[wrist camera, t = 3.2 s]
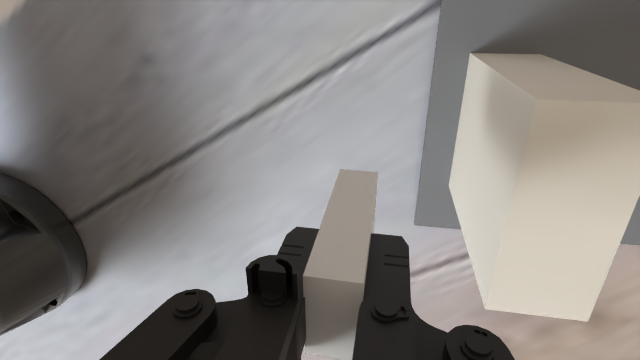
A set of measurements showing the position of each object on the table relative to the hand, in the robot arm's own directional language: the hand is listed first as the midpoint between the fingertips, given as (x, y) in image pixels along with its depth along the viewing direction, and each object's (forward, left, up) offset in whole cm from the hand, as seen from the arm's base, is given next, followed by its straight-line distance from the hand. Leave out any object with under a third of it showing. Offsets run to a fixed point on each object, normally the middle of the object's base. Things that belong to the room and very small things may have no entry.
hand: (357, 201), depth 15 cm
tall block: (+8, 0, -12) cm, 14 cm away
